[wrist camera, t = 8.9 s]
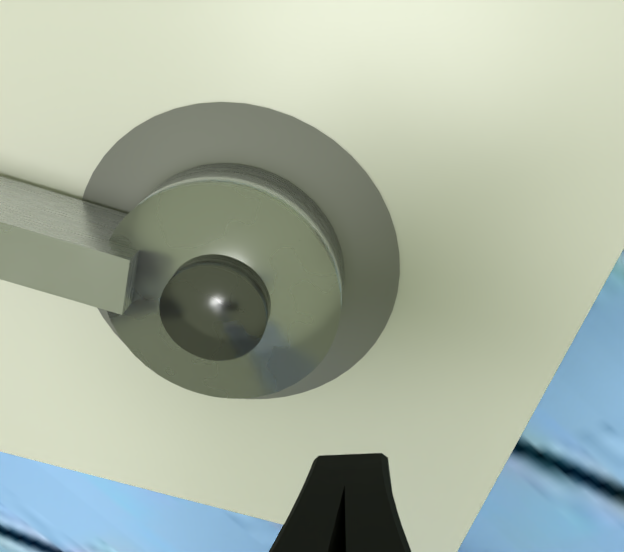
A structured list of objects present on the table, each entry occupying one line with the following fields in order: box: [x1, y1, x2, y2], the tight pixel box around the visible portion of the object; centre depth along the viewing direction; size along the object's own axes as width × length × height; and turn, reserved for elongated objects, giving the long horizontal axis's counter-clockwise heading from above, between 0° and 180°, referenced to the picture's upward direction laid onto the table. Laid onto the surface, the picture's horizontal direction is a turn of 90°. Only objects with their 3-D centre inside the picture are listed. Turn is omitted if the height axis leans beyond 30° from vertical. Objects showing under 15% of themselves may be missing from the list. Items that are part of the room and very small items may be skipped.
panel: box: [0, 0, 624, 552], centre depth 19 cm, size 22×22×2 cm
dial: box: [0, 163, 345, 399], centre depth 17 cm, size 14×7×3 cm, turn 75°
